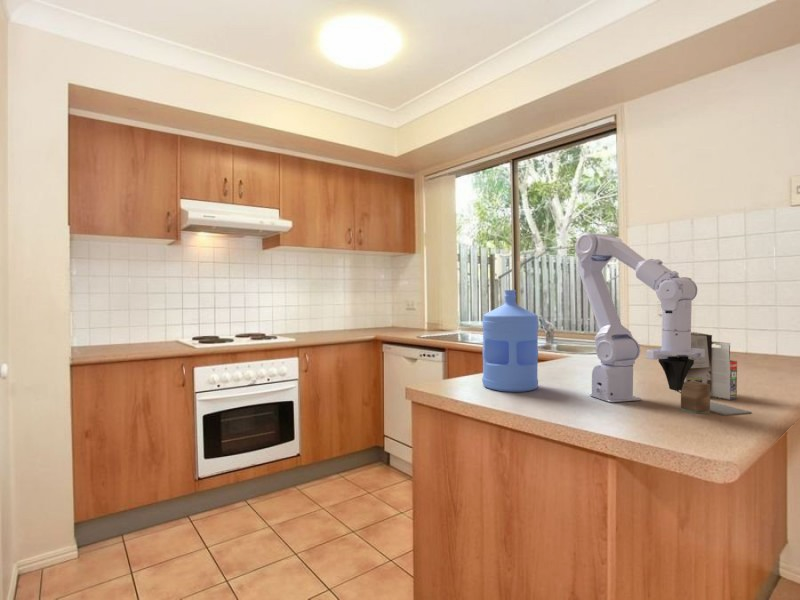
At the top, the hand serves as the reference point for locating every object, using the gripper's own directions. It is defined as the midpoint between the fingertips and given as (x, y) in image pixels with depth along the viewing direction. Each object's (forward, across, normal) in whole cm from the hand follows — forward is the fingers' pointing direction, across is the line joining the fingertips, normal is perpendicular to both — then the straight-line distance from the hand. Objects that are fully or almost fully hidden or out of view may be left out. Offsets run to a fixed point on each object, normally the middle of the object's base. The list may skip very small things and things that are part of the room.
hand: (675, 389), depth 103 cm
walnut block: (+5, +6, 0) cm, 8 cm away
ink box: (+5, +24, +10) cm, 27 cm away
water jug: (+5, -23, +35) cm, 42 cm away
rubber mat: (+5, +12, 0) cm, 13 cm away
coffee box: (+5, +21, +15) cm, 26 cm away
